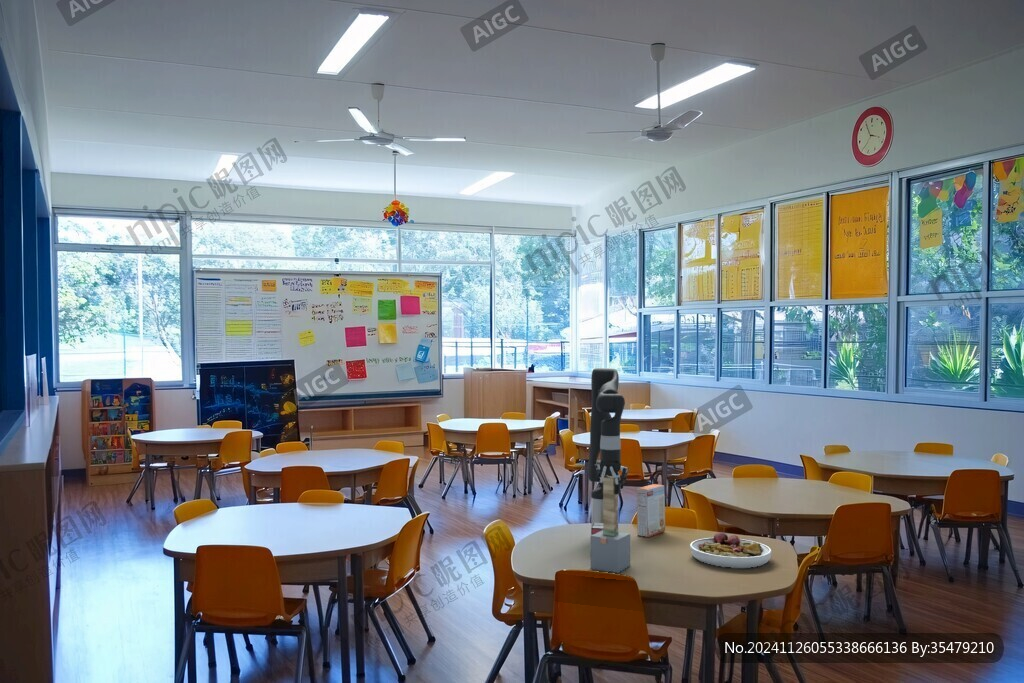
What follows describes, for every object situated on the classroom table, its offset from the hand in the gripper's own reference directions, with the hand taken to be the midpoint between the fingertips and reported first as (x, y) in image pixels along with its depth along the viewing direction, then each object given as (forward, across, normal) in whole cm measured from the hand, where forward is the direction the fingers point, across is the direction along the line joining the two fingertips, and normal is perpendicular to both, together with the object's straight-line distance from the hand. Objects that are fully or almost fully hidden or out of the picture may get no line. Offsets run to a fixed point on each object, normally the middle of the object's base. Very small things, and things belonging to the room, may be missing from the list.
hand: (610, 493), depth 278 cm
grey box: (+27, 0, 0) cm, 27 cm away
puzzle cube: (+28, +12, -20) cm, 36 cm away
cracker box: (+28, +7, -56) cm, 63 cm away
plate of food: (+28, -34, -35) cm, 56 cm away
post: (+18, 0, 0) cm, 18 cm away
